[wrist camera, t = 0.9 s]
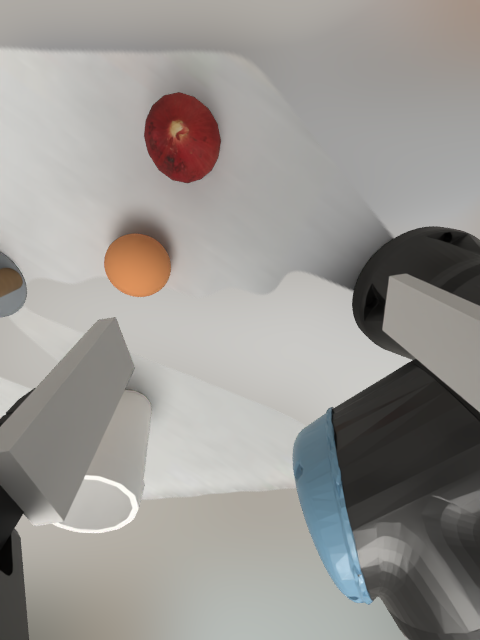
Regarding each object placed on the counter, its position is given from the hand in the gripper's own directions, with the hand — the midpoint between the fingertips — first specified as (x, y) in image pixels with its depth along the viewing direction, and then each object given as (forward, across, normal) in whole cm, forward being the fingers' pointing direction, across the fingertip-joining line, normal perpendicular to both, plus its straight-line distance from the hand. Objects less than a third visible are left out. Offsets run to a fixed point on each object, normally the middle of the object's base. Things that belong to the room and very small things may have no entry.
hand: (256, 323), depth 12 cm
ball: (+15, +10, 0) cm, 18 cm away
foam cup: (+19, +18, +20) cm, 32 cm away
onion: (+19, +3, -9) cm, 21 cm away
